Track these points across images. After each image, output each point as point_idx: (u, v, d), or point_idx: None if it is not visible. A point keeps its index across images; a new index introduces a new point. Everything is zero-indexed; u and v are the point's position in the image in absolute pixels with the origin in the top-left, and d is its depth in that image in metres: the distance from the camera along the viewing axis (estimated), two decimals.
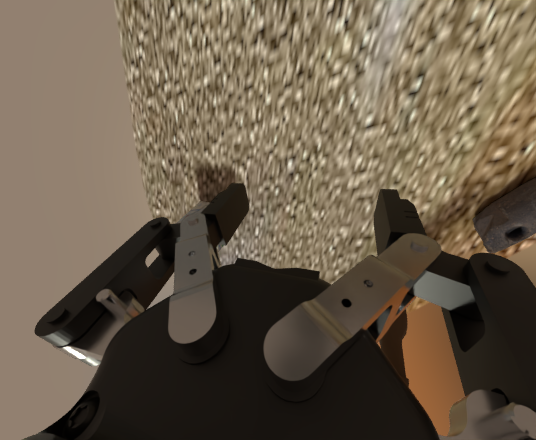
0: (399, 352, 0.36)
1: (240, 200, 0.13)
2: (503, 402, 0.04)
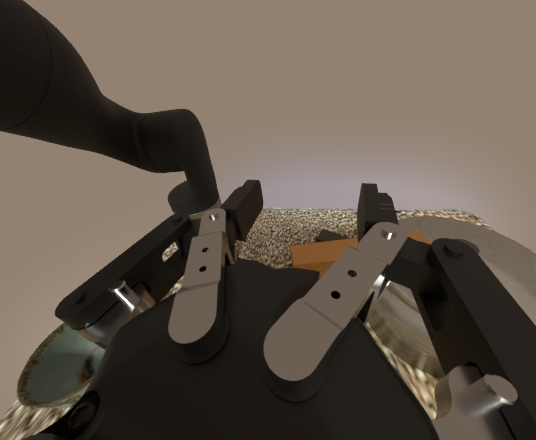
0: None
1: (256, 196, 0.13)
2: (477, 374, 0.05)
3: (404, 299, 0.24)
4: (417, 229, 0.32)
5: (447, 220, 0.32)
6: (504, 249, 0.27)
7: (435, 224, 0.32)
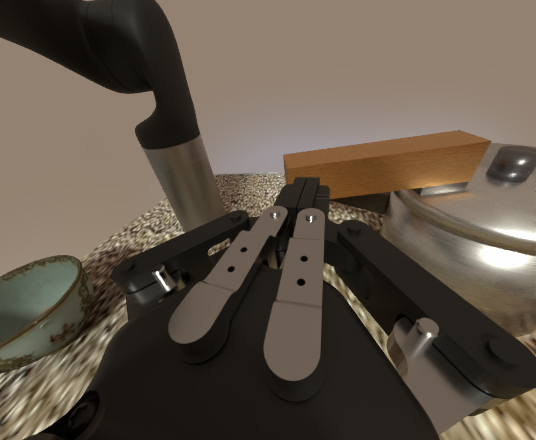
0: None
1: None
2: (407, 321, 0.06)
3: (440, 220, 0.18)
4: None
5: None
6: None
7: None
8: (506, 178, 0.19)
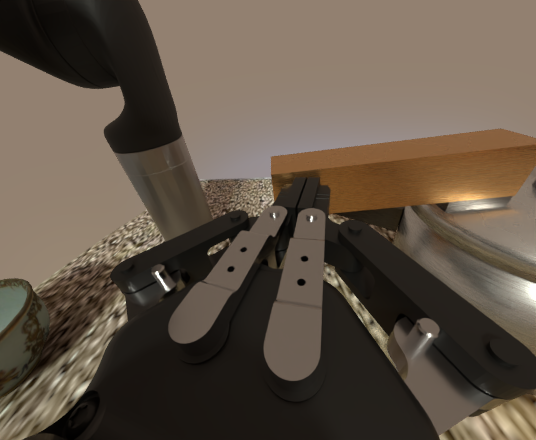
0: None
1: None
2: (408, 322, 0.06)
3: (473, 246, 0.13)
4: None
5: None
6: None
7: None
8: None
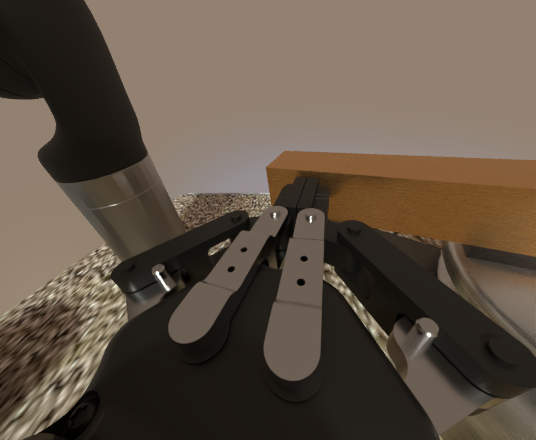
0: None
1: None
2: (407, 321, 0.06)
3: (480, 308, 0.10)
4: None
5: None
6: None
7: None
8: None
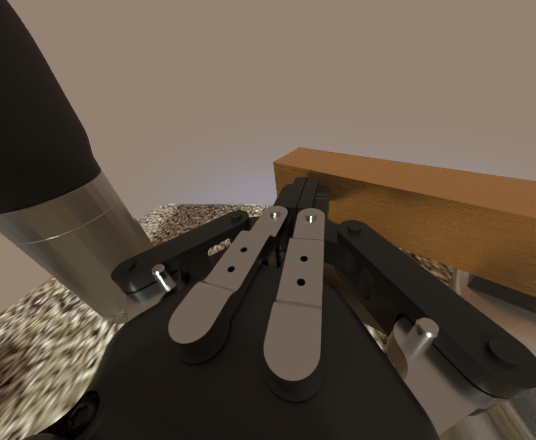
0: None
1: None
2: (407, 321, 0.06)
3: None
4: None
5: None
6: None
7: None
8: None
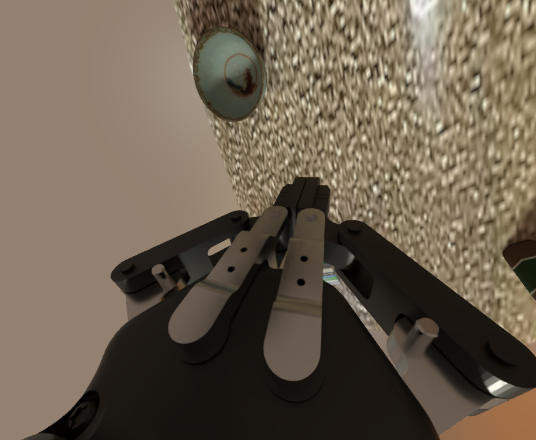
0: None
1: None
2: (407, 321, 0.06)
3: None
4: None
5: None
6: None
7: None
8: None
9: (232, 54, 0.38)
